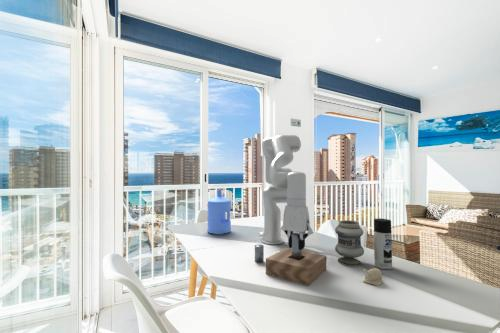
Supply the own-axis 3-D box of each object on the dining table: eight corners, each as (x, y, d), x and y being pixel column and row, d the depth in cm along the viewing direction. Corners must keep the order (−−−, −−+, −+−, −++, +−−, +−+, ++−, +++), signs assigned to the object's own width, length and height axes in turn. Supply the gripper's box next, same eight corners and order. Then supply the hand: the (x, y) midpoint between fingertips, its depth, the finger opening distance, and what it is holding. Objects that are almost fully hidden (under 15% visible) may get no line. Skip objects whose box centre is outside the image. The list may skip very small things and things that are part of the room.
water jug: (204, 234, 164) (204, 190, 165) (211, 228, 180) (211, 189, 180) (227, 235, 162) (227, 191, 162) (233, 229, 177) (233, 189, 178)
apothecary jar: (330, 262, 114) (330, 221, 114) (341, 256, 123) (341, 218, 123) (358, 269, 106) (357, 225, 106) (368, 262, 114) (367, 221, 115)
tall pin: (289, 268, 103) (289, 233, 103) (294, 265, 106) (294, 231, 106) (298, 271, 100) (298, 235, 101) (303, 268, 104) (303, 233, 104)
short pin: (253, 261, 115) (253, 246, 115) (258, 259, 118) (258, 243, 118) (260, 263, 112) (260, 247, 113) (265, 261, 116) (265, 245, 116)
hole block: (265, 273, 101) (265, 258, 101) (287, 260, 116) (287, 247, 116) (308, 286, 90) (308, 268, 91) (326, 270, 105) (326, 255, 105)
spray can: (385, 271, 104) (385, 221, 105) (370, 265, 110) (370, 219, 111) (395, 268, 107) (395, 220, 108) (380, 262, 113) (380, 217, 114)
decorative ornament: (386, 284, 92) (386, 269, 92) (366, 286, 90) (366, 271, 90) (378, 279, 96) (378, 265, 96) (359, 281, 94) (358, 267, 94)
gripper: (274, 202, 106) (274, 246, 105) (312, 205, 96) (312, 254, 95) (282, 200, 112) (282, 242, 111) (319, 203, 102) (319, 249, 101)
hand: (296, 247), depth 103 cm, fingers closed on tall pin, 3 cm apart
